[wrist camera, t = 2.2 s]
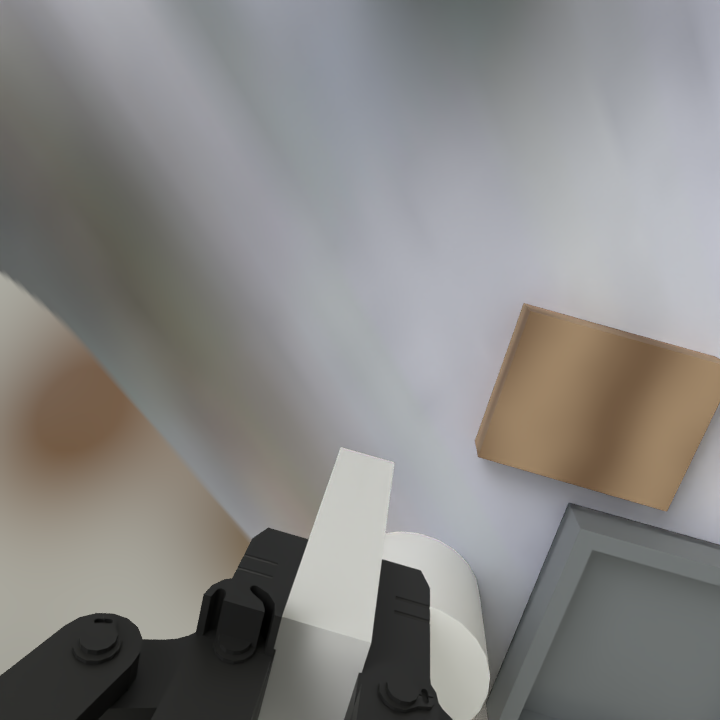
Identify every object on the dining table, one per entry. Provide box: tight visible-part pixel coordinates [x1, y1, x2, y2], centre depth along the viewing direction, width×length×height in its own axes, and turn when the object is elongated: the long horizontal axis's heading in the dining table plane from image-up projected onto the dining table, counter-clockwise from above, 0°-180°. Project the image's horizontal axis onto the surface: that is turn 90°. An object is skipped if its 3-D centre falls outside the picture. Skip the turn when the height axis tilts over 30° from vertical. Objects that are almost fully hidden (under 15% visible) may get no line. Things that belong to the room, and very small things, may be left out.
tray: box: [486, 503, 720, 720], centre depth 33 cm, size 15×15×3 cm
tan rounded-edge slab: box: [475, 303, 720, 512], centre depth 30 cm, size 10×8×2 cm
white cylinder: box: [382, 531, 490, 720], centre depth 30 cm, size 9×9×12 cm
